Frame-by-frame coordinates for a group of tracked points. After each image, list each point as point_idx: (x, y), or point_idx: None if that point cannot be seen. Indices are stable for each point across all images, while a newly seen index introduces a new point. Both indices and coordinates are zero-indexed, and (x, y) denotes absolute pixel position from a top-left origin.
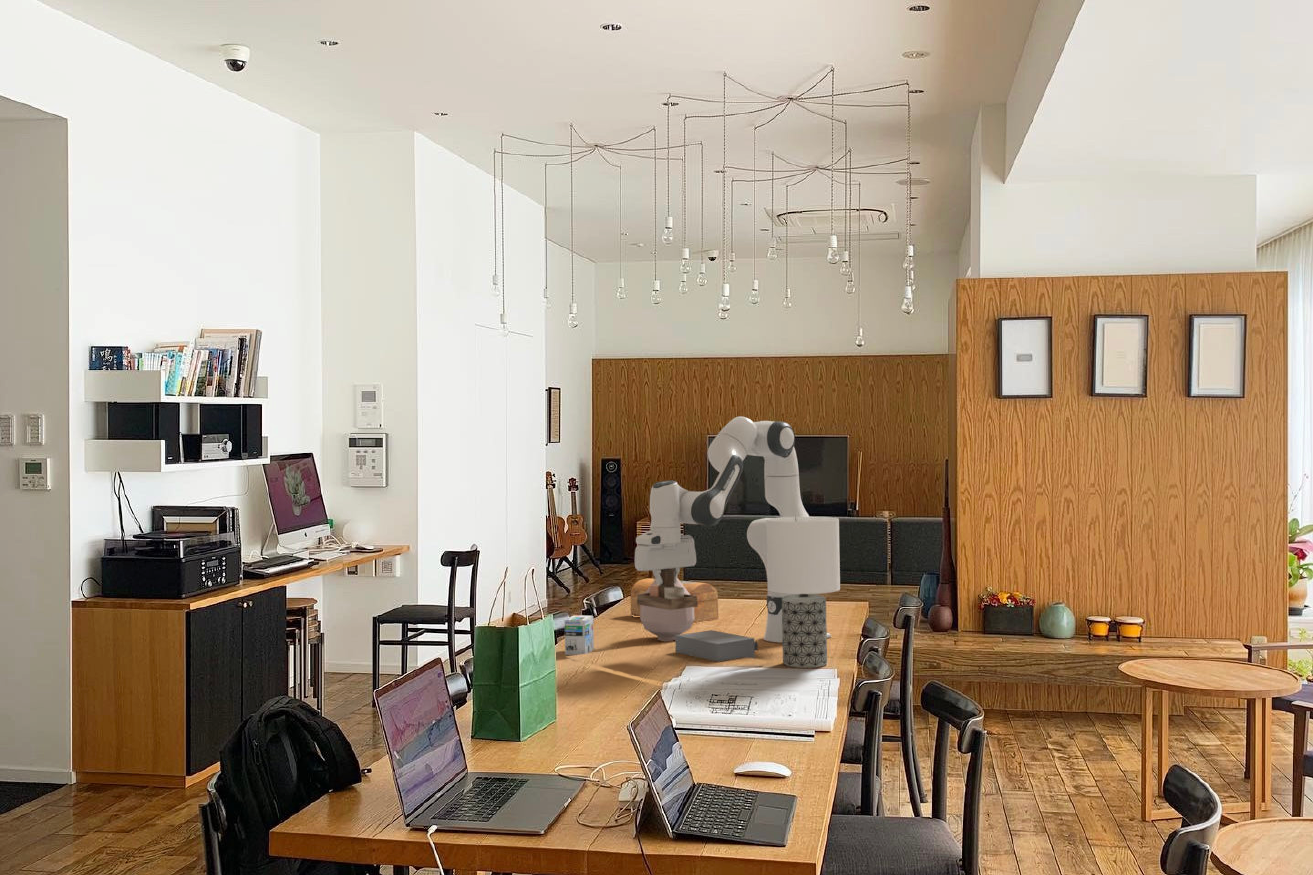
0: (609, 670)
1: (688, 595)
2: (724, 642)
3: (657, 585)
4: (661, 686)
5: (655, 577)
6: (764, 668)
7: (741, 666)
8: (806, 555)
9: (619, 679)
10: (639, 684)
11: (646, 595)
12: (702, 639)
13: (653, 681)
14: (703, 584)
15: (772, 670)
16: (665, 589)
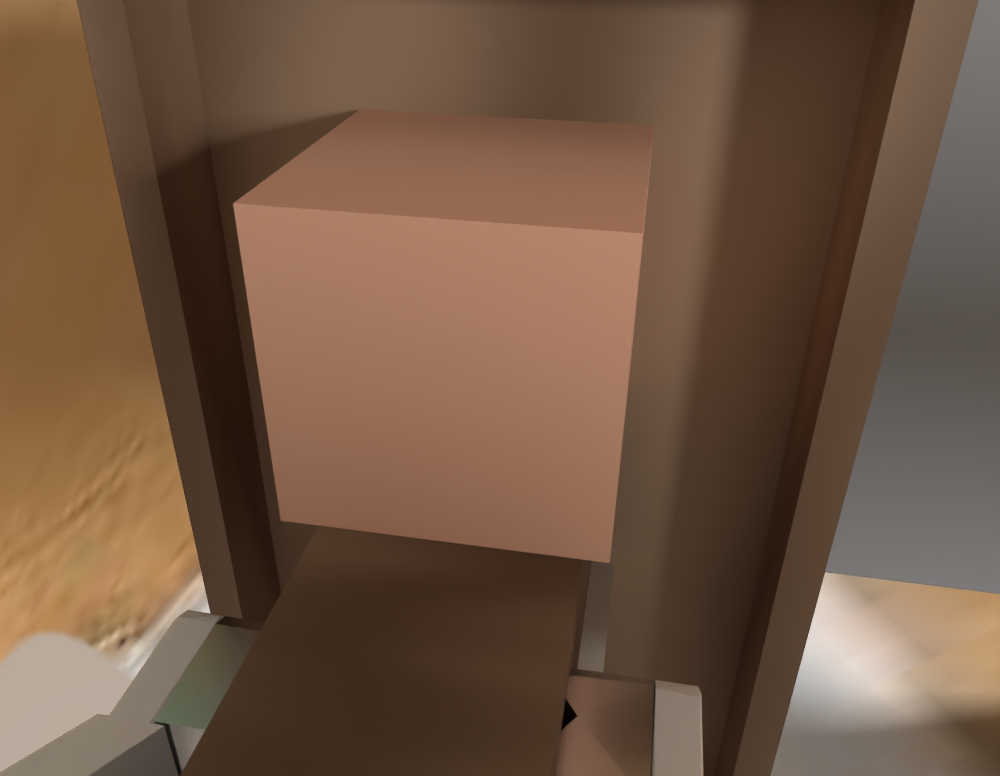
0: (70, 67)
1: (737, 752)
2: (915, 570)
3: (398, 375)
4: (164, 604)
5: (62, 741)
6: (890, 708)
7: (854, 596)
8: None
9: (34, 350)
10: (87, 509)
11: (152, 277)
12: (930, 348)
13: (181, 511)
14: None
15: (867, 757)
16: None
